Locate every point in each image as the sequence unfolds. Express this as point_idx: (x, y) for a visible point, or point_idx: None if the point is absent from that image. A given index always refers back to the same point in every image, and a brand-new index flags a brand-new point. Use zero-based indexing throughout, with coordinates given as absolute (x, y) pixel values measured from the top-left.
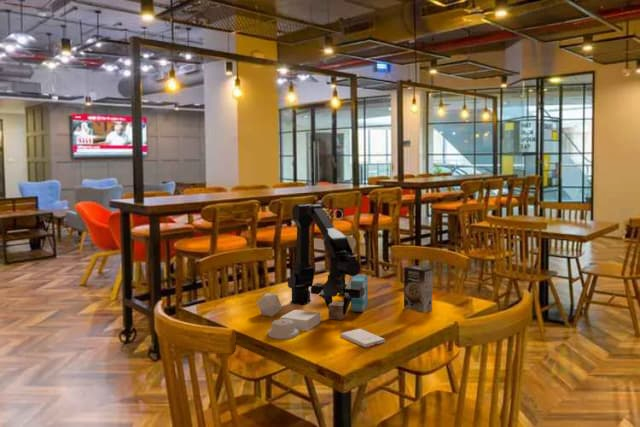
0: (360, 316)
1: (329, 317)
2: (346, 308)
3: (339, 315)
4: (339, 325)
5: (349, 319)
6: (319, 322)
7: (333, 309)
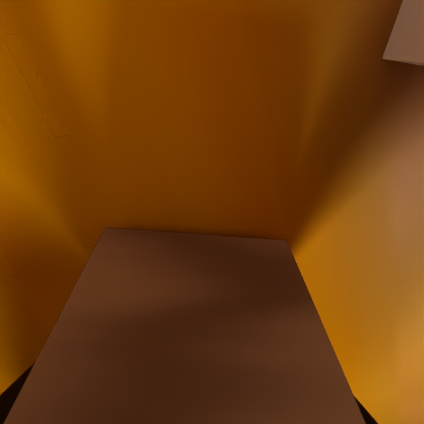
0: (3, 385)
1: (275, 246)
2: (2, 414)
3: (122, 265)
4: (38, 5)
5: (51, 292)
6: (394, 40)
7: (226, 340)
